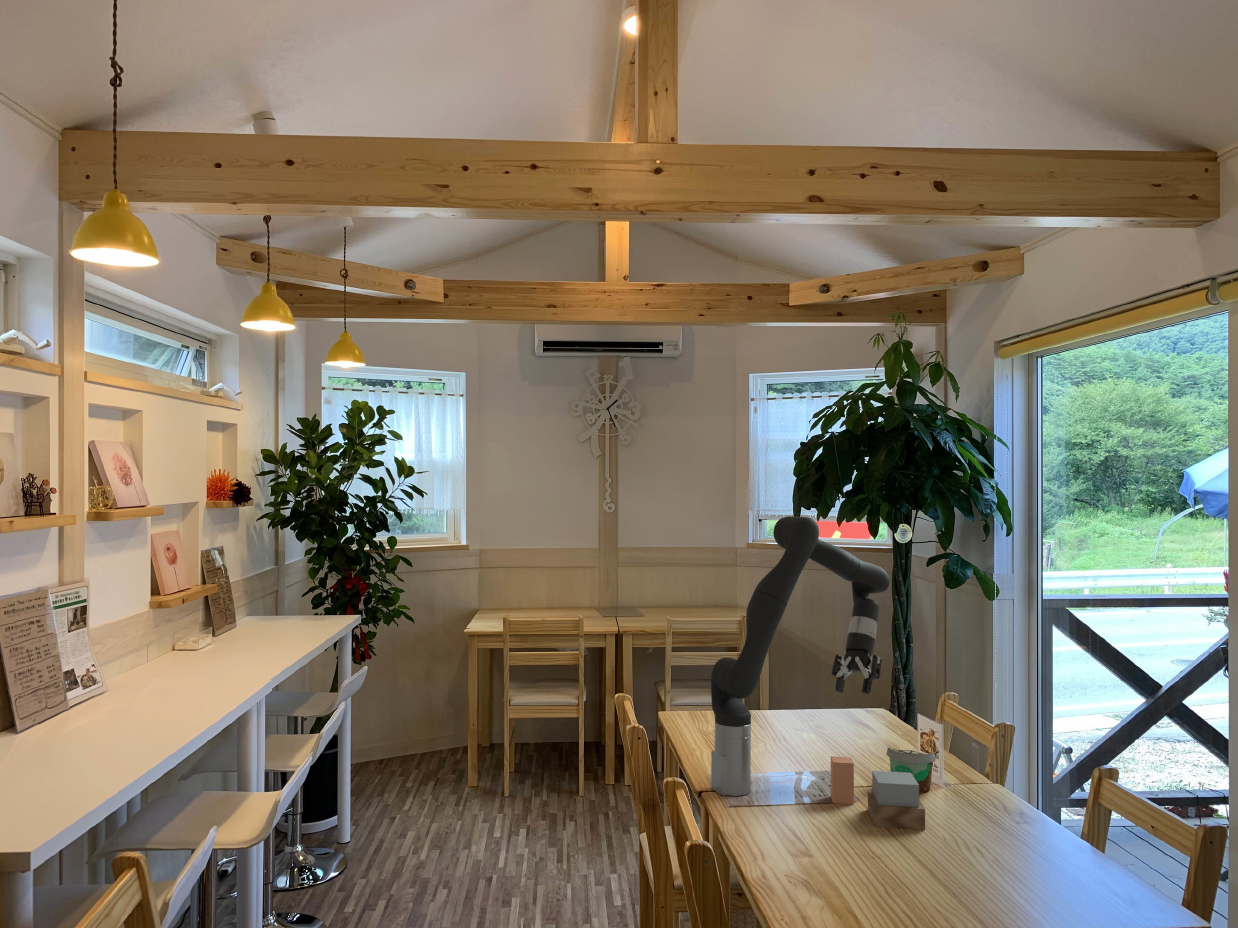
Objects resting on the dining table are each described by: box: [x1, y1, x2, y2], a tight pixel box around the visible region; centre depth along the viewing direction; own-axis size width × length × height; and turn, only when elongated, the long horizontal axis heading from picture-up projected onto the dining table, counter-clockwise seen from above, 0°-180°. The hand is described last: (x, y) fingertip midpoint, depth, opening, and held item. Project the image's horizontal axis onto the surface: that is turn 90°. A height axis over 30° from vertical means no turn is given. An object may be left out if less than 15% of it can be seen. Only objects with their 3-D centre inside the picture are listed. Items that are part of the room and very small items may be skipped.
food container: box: [886, 746, 937, 794], centre depth 222 cm, size 12×6×10 cm, turn 62°
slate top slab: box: [871, 770, 920, 807], centre depth 202 cm, size 9×9×5 cm
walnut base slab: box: [867, 789, 926, 831], centre depth 202 cm, size 11×11×5 cm
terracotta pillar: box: [830, 755, 855, 806], centre depth 214 cm, size 5×5×10 cm
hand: (852, 692), depth 233 cm, fingers open, 8 cm apart
